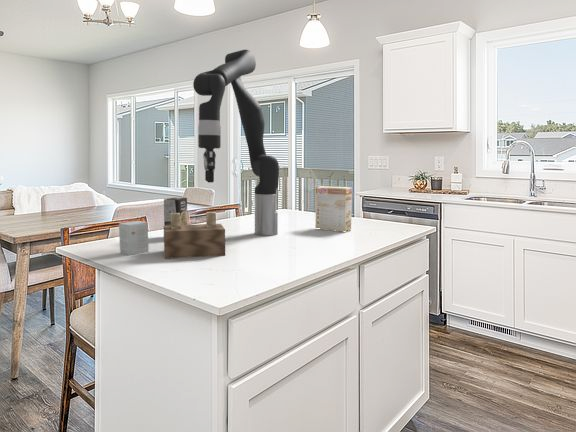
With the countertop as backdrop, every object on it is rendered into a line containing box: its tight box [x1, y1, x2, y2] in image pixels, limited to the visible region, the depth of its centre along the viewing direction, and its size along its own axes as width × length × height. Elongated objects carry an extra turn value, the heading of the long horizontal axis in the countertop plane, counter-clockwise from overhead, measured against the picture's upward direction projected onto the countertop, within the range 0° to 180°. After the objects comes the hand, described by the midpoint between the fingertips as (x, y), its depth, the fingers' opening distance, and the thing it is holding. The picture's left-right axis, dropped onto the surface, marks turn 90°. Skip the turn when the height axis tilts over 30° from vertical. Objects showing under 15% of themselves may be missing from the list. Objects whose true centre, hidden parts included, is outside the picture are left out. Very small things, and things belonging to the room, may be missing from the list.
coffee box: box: [163, 197, 189, 227], centre depth 185 cm, size 9×6×16 cm
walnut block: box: [163, 223, 226, 259], centre depth 158 cm, size 20×12×9 cm, turn 105°
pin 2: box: [205, 211, 217, 228], centre depth 159 cm, size 3×3×8 cm
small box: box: [118, 220, 150, 256], centre depth 159 cm, size 8×6×10 cm
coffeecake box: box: [314, 185, 353, 232], centre depth 206 cm, size 15×7×20 cm, turn 58°
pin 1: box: [171, 213, 180, 229], centre depth 156 cm, size 3×3×8 cm
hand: (209, 181), depth 159 cm, fingers open, 8 cm apart
